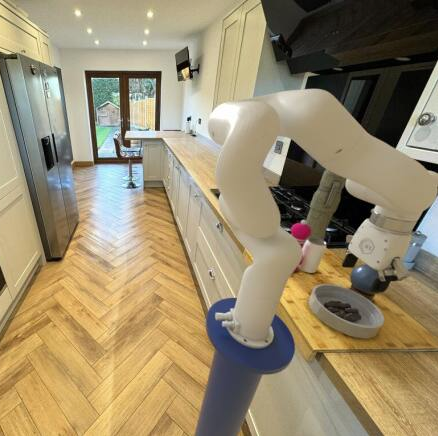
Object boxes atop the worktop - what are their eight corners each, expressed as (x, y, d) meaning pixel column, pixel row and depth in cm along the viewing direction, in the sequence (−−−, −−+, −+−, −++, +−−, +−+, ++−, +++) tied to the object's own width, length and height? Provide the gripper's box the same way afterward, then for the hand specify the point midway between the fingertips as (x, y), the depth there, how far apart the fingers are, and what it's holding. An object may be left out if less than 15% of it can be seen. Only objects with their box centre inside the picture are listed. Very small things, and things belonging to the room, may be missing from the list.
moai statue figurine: (300, 250, 100) (331, 168, 85) (293, 236, 110) (319, 162, 95) (324, 254, 98) (360, 171, 82) (314, 240, 108) (345, 164, 93)
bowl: (331, 338, 62) (338, 326, 60) (297, 293, 76) (301, 283, 74) (393, 340, 62) (401, 328, 60) (347, 295, 76) (352, 284, 74)
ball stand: (356, 306, 72) (373, 277, 67) (335, 286, 80) (349, 258, 75) (385, 307, 72) (404, 278, 67) (361, 287, 80) (377, 259, 75)
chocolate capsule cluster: (333, 323, 65) (336, 318, 65) (317, 303, 72) (319, 298, 71) (366, 324, 65) (369, 319, 65) (347, 304, 72) (349, 300, 71)
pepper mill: (273, 261, 92) (288, 215, 83) (292, 262, 92) (309, 216, 83) (282, 273, 86) (299, 224, 77) (302, 274, 85) (322, 225, 77)
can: (294, 267, 89) (304, 240, 83) (298, 260, 93) (309, 234, 88) (313, 276, 85) (325, 248, 79) (317, 268, 89) (329, 241, 83)
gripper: (347, 206, 63) (325, 258, 71) (411, 240, 48) (374, 302, 55) (375, 207, 63) (350, 259, 71) (448, 241, 48) (406, 303, 55)
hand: (360, 278), depth 63 cm, fingers open, 9 cm apart
